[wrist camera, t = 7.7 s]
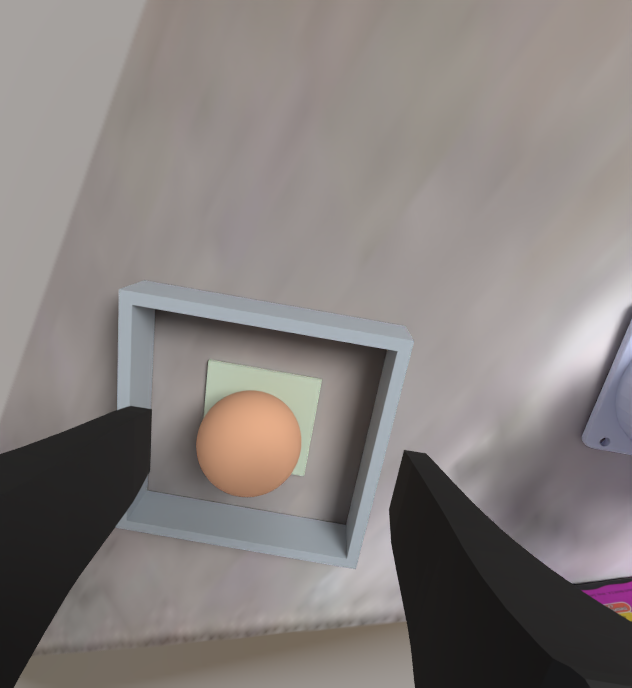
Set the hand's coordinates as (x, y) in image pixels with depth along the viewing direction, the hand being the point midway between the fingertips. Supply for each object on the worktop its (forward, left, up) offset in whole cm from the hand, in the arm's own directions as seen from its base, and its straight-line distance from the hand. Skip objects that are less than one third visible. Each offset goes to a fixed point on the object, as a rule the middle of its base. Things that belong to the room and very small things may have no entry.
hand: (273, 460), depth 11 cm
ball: (+2, +4, -10) cm, 11 cm away
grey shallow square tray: (+2, +5, -10) cm, 11 cm away
